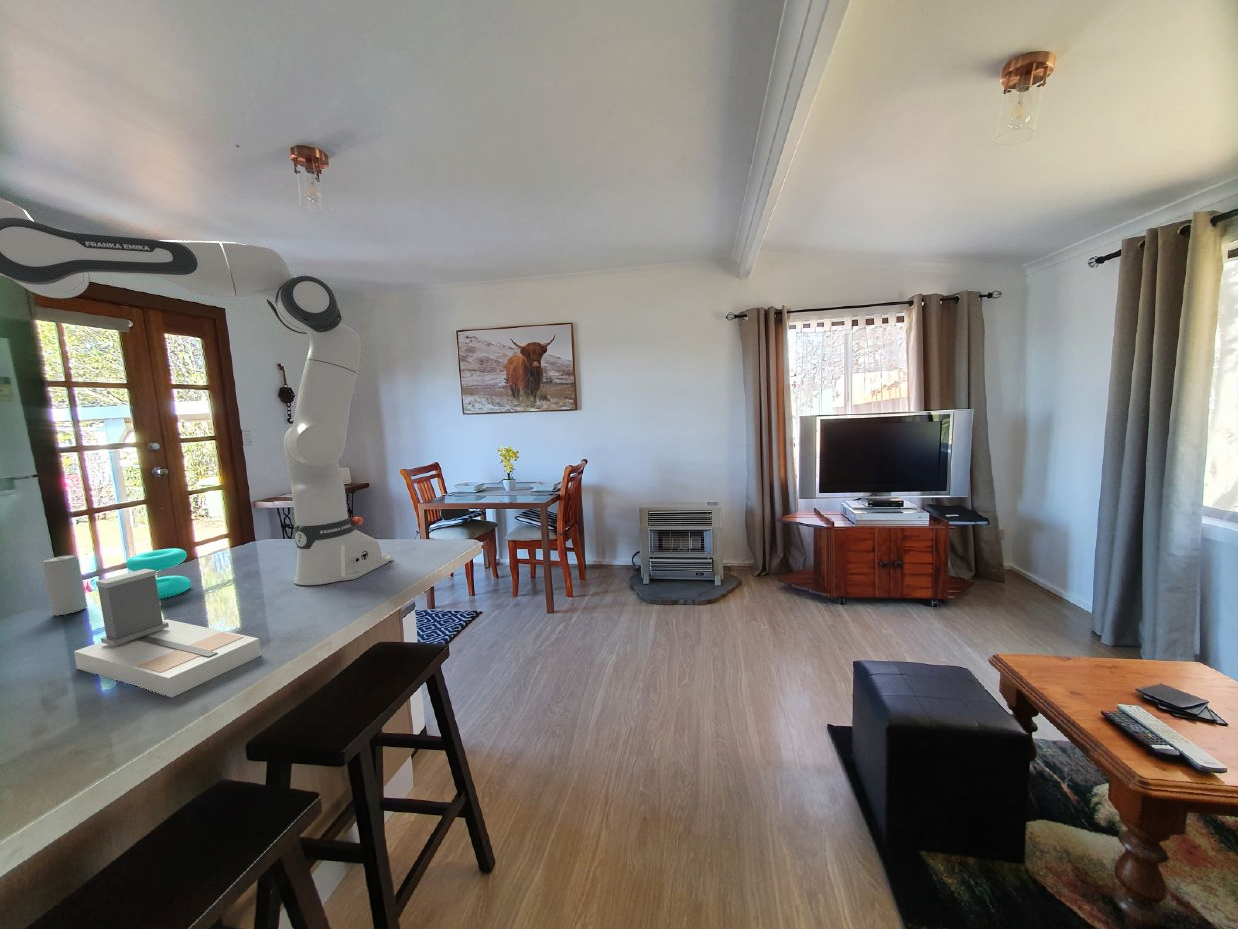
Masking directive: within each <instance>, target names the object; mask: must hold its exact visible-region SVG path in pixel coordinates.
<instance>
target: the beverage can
mask: <svg viewBox="0 0 1238 929" xmlns="http://www.w3.org/2000/svg"><path fill="white" fill-rule="evenodd" d="M77 556H78V555H77V554H67V555H60V556H56V557H49V558H47V559H44V560H43V564H42V567H43V573H44V578H45V583H46V588H47V592H48V597H49V603H50V606H51V613H52V615H54V616H56V617H60V616H59V615H64V614H69V613H74V612H77V611H80V610H82V609H84V610H85V609H86V607H87V600H86V595H85V589H84V582H83V578H82V572H81V565H80V561H79V560H80V559H79V558H78V557H77ZM75 598H76V599H75ZM82 611H83V610H82ZM80 612H81V611H80ZM77 613H78V612H77ZM74 614H75V613H74ZM64 616H65V615H64Z"/></svg>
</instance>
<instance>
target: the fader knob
mask: <svg viewBox="0 0 1238 929" xmlns="http://www.w3.org/2000/svg"><path fill="white" fill-rule="evenodd" d="M156 576H157V571H156V570H150V569H142V570H138V571H130V572H127V573H124V574H119V575H116V576H110V577H108V578H103V579H99V580H96V581H95V586H96V587H97V591H98V595H99V597H98V598H99V600H100V601H99V602H100V607H101V613H102V614H101V615H102V619H103V620H102V621H103V624H104V630H105V636H104V637H103V636H102V637H100V642H101V643H104V644H108V645H112V646H117V645H119V644H122V643H125V642H128V641H131V640H133V639H136V638H139V637H142V636H145V635H148V634H150V633H153V632H156V631H159V630H162V629H164V628H167V627H169V625H168V622H163V621H164V620H163V616H162V611H161V609H162V608H161V602H160V600H159V596H158V590H157V583H156Z"/></svg>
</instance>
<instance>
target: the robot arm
mask: <svg viewBox="0 0 1238 929" xmlns="http://www.w3.org/2000/svg"><path fill="white" fill-rule="evenodd" d="M90 274H115V275H116V274H119V275H140V276H141V275H143V276H149V277H155V278H160V279H163V280H165V281H168V282H171V283H174V284H176V285H178V286H180V287H181V288H183V289H185V290H187V291H188V292H190V293H193V294H196V295H201V296H209V297H221V298H235V297H236V298H238V297H257V298H263V299H266V301H267V302H266V303H267V304H268V306H269V307H270V309H271V310H272V312H273V313H274V315H275V316H276V318H277V320H279V322H280V323H281V324H282V325H283V326H284V327H285V328H287V329H288V330H290V331H292V332H294V333H297V334H302V335H307V336H308V339H309V349H308V353H307V356H306V360H305V363H304V364H305V365H304V368H303V373H302V376H301V379H300V384H299V388H298V392H297V398H296V406H295V411H294V416H293V421H292V426H291V427H289V429H288V430H286V432H285V434H284V437H283V449H284V450H283V451H284V457H285V463H286V468H287V475H288V480H289V481H288V482H289V485H290V491H291V496H292V497H291V498H292V505H293V514H294V524H293V534H294V540H295V544H296V548H297V549H296V551H297V555H296V556H297V557H296V569H295V575H294V578H293V583H294V584H295V585H299V586H317V585H325V584H329V583H330V584H331V583H336V582H340V581H341V582H342V581H351V580H355V579H358V578H360V577H362V576H364V575H366V574H368V573H370V572H371V571H375V570H376V569H377V568H380V567H382V566H384V565H386V564H388V563H389V561H390V562H392V556H391V555H388V554H384V553H382V550H381V546H380V543H379V542H378V540H377V539H375V538H374V537H371V536H369V535H368V534H365V533H363V532H362V531H359V530H357V528H356V526H355V525H359V526H360V525H362V524H363V523H364V518H363V517H362V516H354V517H350V516H349V515H348V506H347V505H348V504H347V496H346V487H345V484H344V480H343V476H342V473H341V469H340V468H341V467H340V463H339V459H340V458H341V457H342V456H343V454H344V451H345V446H346V440H347V435H348V429H349V419H350V408H351V403H352V399H353V395H354V390H355V386H356V382H357V377H358V374H359V369H360V363H361V354H362V339H361V337H360V334H359V333H358V332H357V331H356V330H354V329H353V328H352V327H350V326H348V325H346V324H344V323H341V321H342V319H343V317H342V313H341V311H340V308H339V305H338V301H337V300H336V296H335V294H334V292H333V291H332V289H331V288H330V287H329V285H328V284H327V283H325V282H324V281H322V280H321V279H319V278H316V277H314V276H312V275H311V276H310V275H298V276H294V277H293V275H292V274H291V273H290V271H289V267H288V265H287V263H286V260H284V258H283V257H282V256H281V255H280V254H279V253H278V252H277V251H275V250H273V249H272V248H270V247H269V248H268V247H265V246H258V245H253V244H247V243H238V242H237V243H236V242H229V241H227V242H226V241H202V240H200V241H198V240H196V241H195V240H194V241H193V240H187V241H186V240H184V241H183V240H164V239H163V240H162V239H161V240H158V239H150V238H139V237H128V236H117V235H116V236H115V235H106V234H105V235H104V234H94V233H93V234H92V233H80V232H74V231H73V232H72V231H68V230H63V229H60V228H55V227H53V226H49V225H47V224H43V223H41V222H38V221H34V220H33V219H32V217H31V216H30V215H29V214H28V212H27V211H26V210H25V209H24V208H22V207H20V206H19V205H18V204H16V203H13V202H11V201H9V200H7V199H5V198H3V197H1V196H0V276H2V277H5V278H8V279H9V280H12V281H14V282H15V283H17V284H18V285H20V286H22V288H25V289H26V290H28V291H30V292H31V293H34V294H37V295H40V296H43V297H47V298H51V299H63V300H65V299H71V298H75V297H78V296H80V295H81V294H83V293H85V292H86V291H87V289H88V287H89V285H90V283H91V282H90V281H91V280H90Z"/></svg>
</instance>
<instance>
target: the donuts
mask: <svg viewBox="0 0 1238 929" xmlns="http://www.w3.org/2000/svg"><path fill="white" fill-rule="evenodd" d="M187 556H188V553H187V551H186V550H184V549H181V548H178V547H177V548H176V547H175V548H164V549H157V550H151V551H147V552H143V553H139V554H135V555H133V556H131V557H129V558H128V559H127V560H126V562H125V567H126V568H127V569H128V570H129V571H130V572H134V571H138V570H142V569H150V570H156V572H159V571H164V570H167V569H171V568H174V567H177V566H178V565H181V564H182V563H183V562H184V561H185V560H186V559H187ZM156 583H157V590H158V596H159V599H160V600H164V598H165V599H168V598H167V597H169V598H171V596H172V597H175V596H178V595H180V593H181V594H182V592H183V593H185V592H186V591H188V590H189V589H190V587H191V585H192V580H190V578H188V577H186V576H182V575H167V576H162V577H161V576H160V577H157V578H156ZM177 594H178V595H177Z"/></svg>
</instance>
